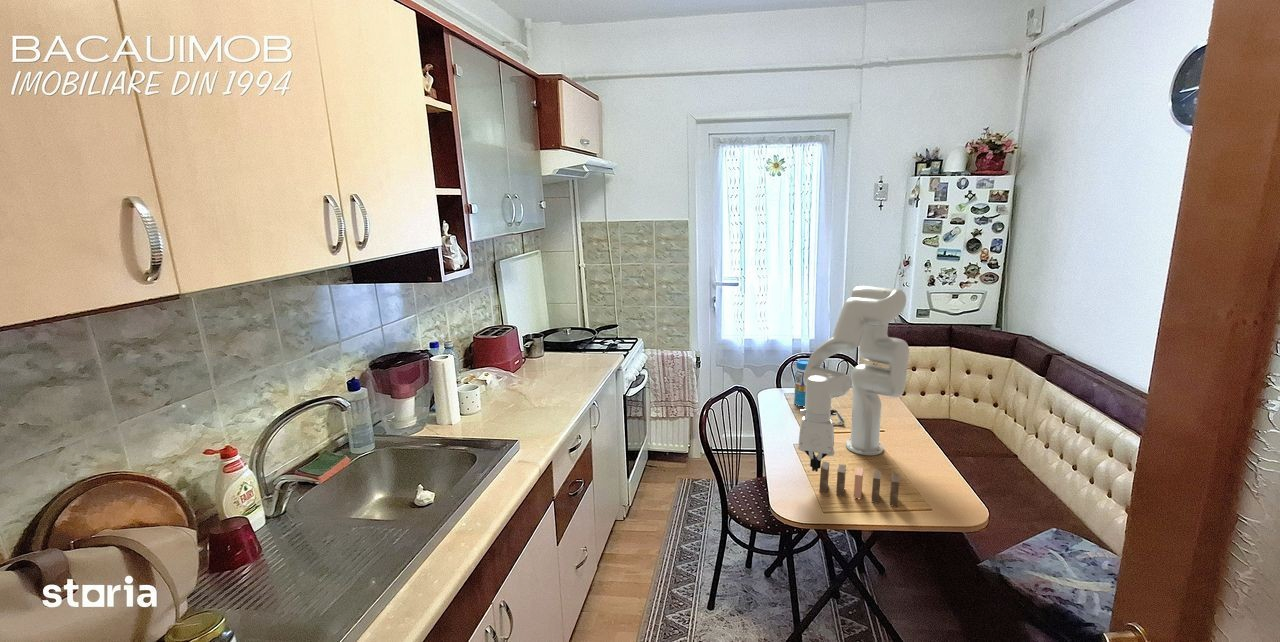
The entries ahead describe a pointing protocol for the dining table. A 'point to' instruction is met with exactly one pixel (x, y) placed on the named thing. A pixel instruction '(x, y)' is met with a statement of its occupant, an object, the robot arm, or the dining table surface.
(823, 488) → the domino
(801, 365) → the blue wipes canister
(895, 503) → the domino
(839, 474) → the domino
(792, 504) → the dining table surface
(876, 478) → the domino
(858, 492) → the domino
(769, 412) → the dining table surface
